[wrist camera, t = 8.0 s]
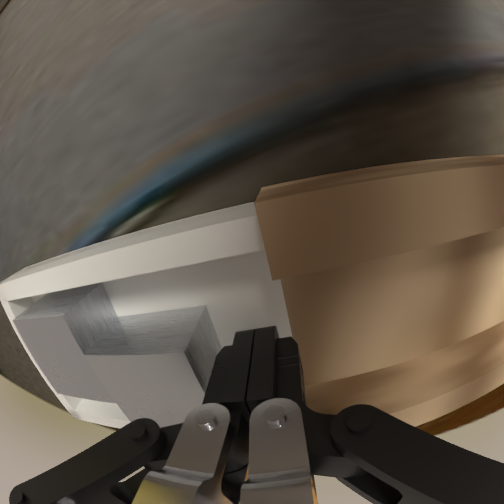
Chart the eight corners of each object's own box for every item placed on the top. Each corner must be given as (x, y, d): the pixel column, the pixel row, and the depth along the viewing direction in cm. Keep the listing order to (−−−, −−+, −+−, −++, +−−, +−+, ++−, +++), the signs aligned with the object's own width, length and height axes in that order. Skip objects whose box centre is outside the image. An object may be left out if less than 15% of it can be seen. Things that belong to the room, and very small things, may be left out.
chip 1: (102, 281, 11) (62, 315, 8) (141, 362, 12) (116, 403, 9) (47, 293, 11) (12, 320, 8) (83, 361, 13) (57, 393, 10)
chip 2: (205, 304, 11) (184, 352, 8) (236, 383, 12) (227, 433, 9) (117, 316, 11) (83, 355, 8) (155, 386, 12) (135, 427, 10)
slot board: (543, 154, 7) (587, 162, 4) (530, 312, 11) (560, 340, 7) (261, 187, 10) (254, 202, 6) (305, 393, 13) (309, 452, 10)
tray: (264, 199, 10) (260, 214, 7) (304, 387, 13) (307, 430, 10) (26, 266, 12) (-6, 286, 10) (92, 390, 15) (73, 417, 13)
